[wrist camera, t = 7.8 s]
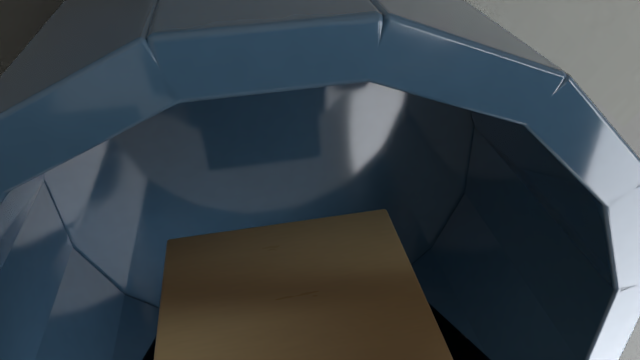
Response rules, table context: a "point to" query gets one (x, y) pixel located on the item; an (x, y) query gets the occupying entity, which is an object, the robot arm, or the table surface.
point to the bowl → (309, 166)
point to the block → (296, 294)
